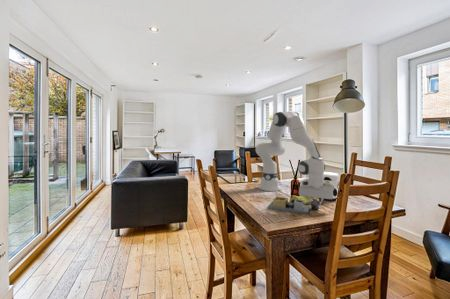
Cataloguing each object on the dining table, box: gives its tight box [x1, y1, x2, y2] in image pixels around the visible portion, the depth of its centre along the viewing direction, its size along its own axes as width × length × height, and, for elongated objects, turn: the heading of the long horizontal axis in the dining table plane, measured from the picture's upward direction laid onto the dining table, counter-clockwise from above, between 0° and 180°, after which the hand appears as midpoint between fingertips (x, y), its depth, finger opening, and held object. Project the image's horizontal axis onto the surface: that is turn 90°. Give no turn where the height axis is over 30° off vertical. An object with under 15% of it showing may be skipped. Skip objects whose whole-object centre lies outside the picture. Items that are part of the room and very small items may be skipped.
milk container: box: [323, 171, 340, 200], centre depth 178 cm, size 17×17×18 cm
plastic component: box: [289, 195, 312, 206], centre depth 168 cm, size 20×7×10 cm
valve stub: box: [310, 197, 320, 211], centre depth 152 cm, size 4×4×8 cm
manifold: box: [267, 196, 311, 215], centre depth 153 cm, size 12×24×6 cm, turn 65°
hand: (315, 204), depth 152 cm, fingers closed on valve stub, 4 cm apart
